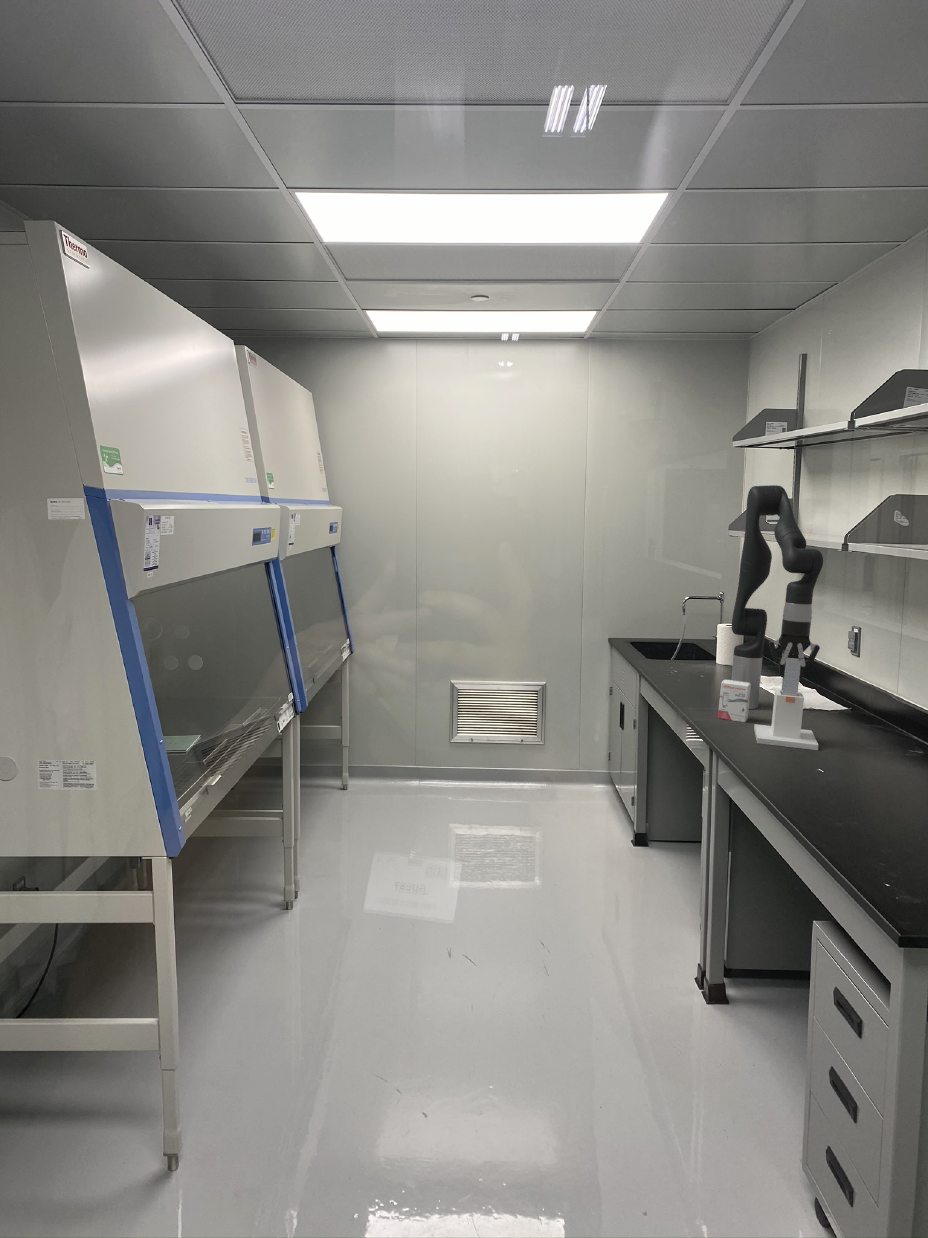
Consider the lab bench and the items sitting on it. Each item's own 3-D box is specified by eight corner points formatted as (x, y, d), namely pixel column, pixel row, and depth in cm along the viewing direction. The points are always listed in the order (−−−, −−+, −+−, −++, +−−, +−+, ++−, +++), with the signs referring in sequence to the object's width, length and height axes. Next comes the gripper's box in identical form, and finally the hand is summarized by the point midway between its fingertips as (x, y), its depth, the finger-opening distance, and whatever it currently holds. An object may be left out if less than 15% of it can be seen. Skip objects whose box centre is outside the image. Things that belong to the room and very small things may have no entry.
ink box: (716, 718, 256) (720, 681, 255) (719, 715, 261) (723, 679, 259) (745, 722, 252) (748, 685, 251) (747, 719, 257) (751, 682, 255)
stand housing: (754, 729, 245) (758, 685, 243) (811, 735, 241) (815, 691, 239) (757, 743, 230) (761, 696, 228) (817, 750, 226) (823, 703, 224)
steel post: (776, 731, 238) (784, 657, 235) (792, 732, 237) (799, 658, 233) (778, 734, 234) (785, 659, 231) (793, 736, 233) (801, 661, 229)
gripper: (822, 619, 232) (815, 678, 234) (769, 615, 236) (763, 673, 238) (825, 622, 225) (819, 683, 227) (771, 618, 229) (765, 677, 231)
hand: (790, 677), depth 233 cm, fingers closed on steel post, 4 cm apart
